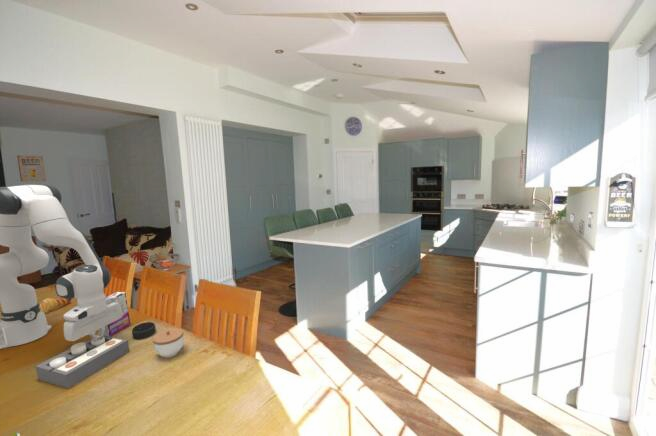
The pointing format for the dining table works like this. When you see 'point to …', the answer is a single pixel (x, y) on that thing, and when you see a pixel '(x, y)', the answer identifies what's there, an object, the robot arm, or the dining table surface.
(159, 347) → the lidded jar
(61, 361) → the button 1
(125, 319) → the candy bar box
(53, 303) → the croissant
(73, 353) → the button
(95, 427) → the dining table surface
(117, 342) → the button board
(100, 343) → the button
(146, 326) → the smart speaker
